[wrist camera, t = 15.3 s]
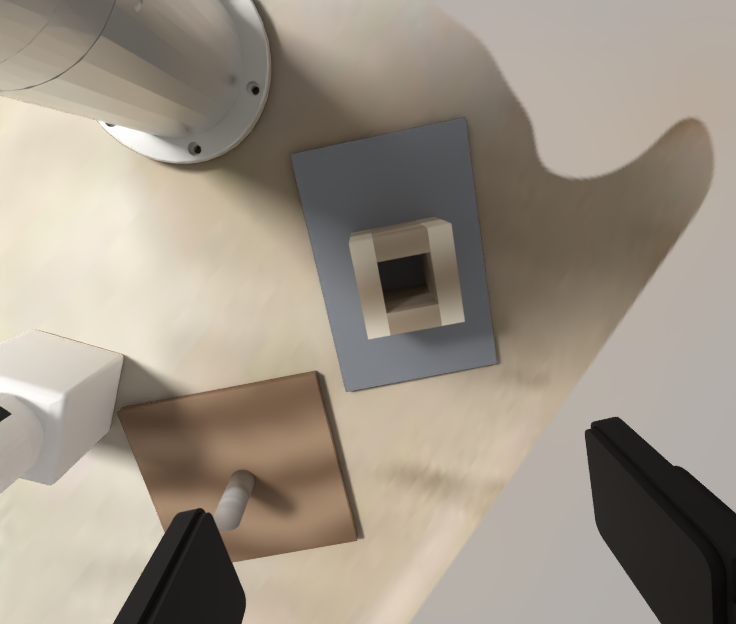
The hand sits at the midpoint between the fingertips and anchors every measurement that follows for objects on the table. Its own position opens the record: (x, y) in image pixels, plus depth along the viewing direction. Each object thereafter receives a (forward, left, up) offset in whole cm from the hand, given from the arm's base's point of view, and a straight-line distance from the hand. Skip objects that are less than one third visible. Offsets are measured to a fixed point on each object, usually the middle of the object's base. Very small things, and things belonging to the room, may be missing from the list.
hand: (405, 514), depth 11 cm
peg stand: (+13, -14, -23) cm, 30 cm away
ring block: (-2, +2, -23) cm, 23 cm away
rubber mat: (-2, +2, -23) cm, 23 cm away
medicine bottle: (+2, -25, -23) cm, 34 cm away
